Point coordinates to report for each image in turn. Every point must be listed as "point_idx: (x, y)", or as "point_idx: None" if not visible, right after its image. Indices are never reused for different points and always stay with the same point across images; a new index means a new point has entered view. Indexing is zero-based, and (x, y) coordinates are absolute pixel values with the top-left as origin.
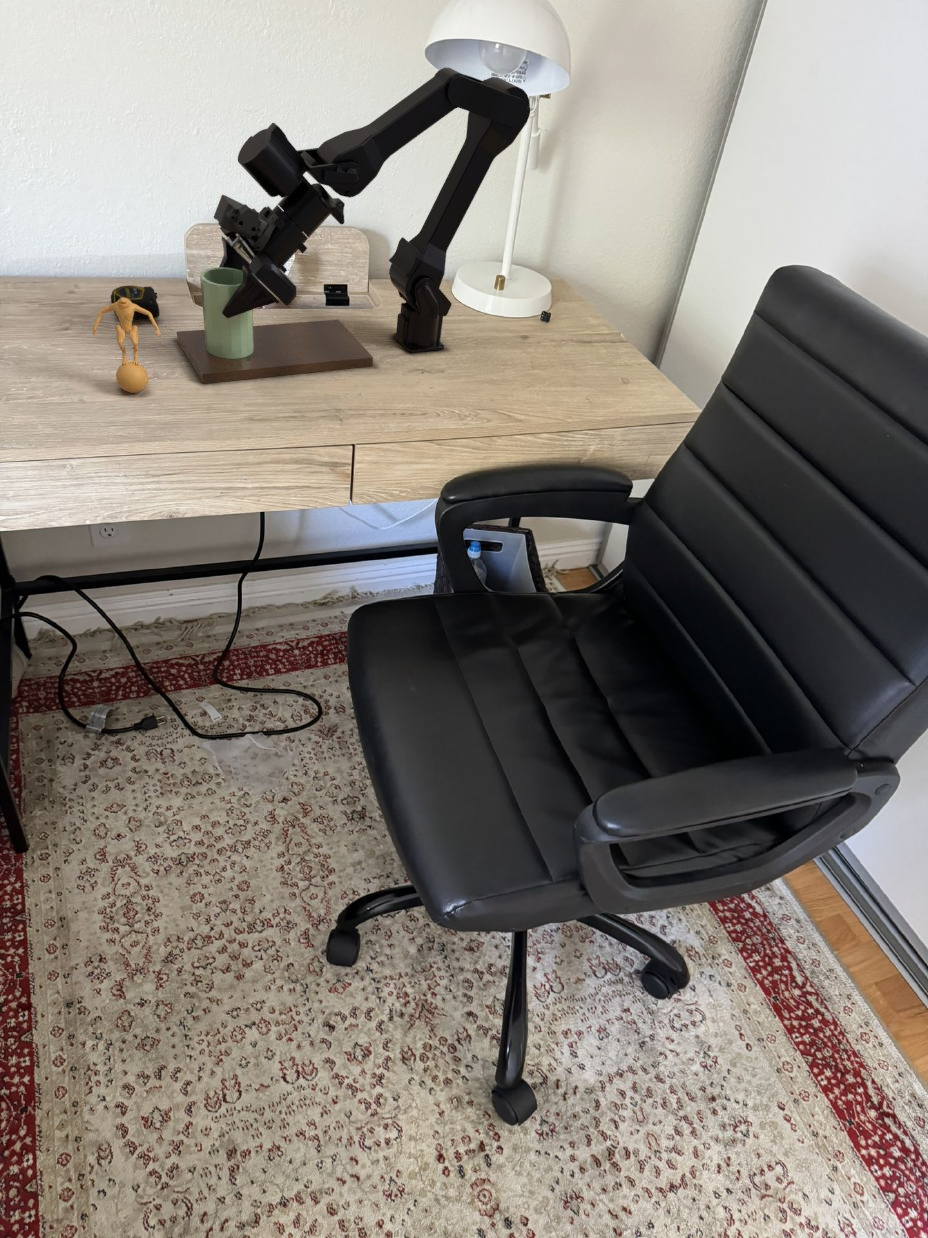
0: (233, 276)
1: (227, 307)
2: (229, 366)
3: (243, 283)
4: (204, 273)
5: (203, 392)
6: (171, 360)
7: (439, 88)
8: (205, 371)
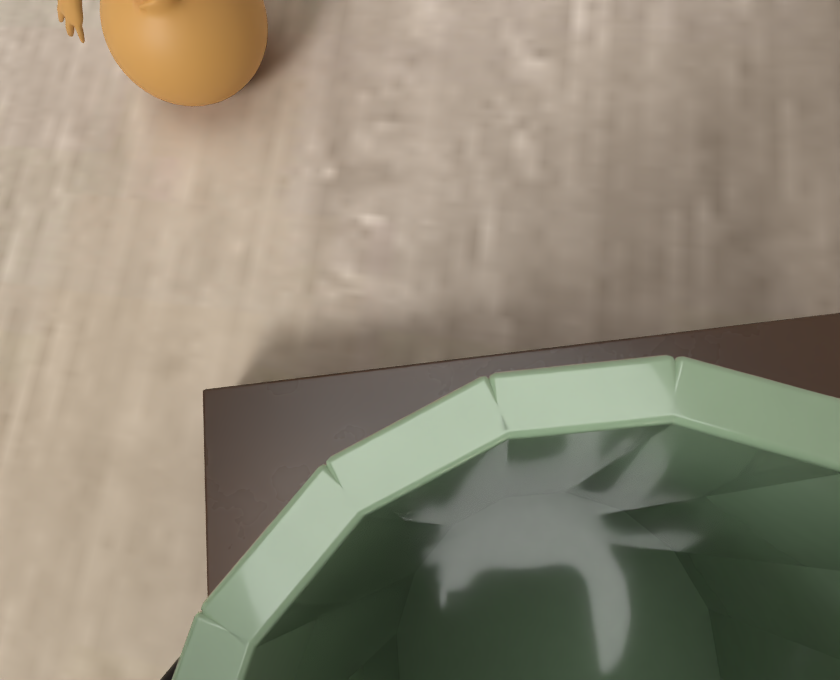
0: None
1: (165, 675)
2: None
3: None
4: (799, 454)
5: (133, 387)
6: (539, 267)
7: None
8: (228, 412)
